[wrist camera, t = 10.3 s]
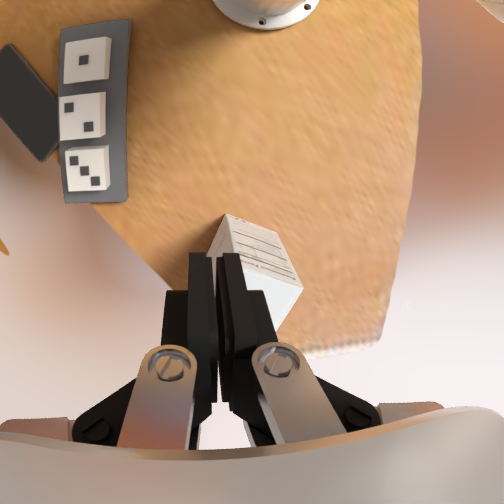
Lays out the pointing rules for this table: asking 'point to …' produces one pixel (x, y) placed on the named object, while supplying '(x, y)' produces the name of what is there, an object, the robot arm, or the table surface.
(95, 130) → the tile two
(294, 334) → the table surface
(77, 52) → the tile one
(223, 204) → the table surface
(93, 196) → the button board
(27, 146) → the smartphone
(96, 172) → the tile three
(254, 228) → the supplement box
